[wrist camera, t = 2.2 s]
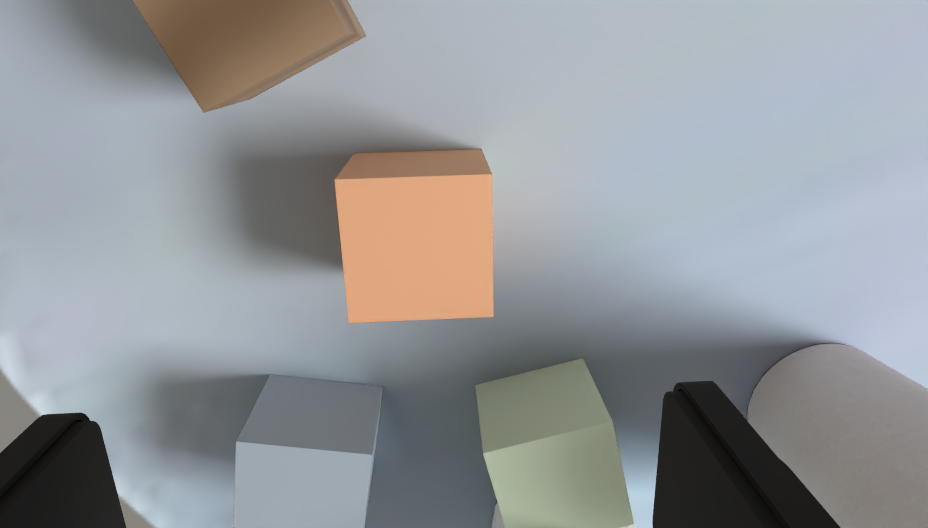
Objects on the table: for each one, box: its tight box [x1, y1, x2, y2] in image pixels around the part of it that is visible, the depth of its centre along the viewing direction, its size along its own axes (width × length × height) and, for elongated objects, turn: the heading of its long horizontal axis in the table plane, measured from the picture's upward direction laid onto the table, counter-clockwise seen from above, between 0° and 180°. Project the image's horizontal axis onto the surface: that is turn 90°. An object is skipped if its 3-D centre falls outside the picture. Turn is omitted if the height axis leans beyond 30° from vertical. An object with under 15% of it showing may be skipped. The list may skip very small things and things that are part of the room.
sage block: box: [475, 358, 634, 528], centre depth 26 cm, size 5×5×5 cm
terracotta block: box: [335, 149, 494, 323], centre depth 23 cm, size 5×5×5 cm
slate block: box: [233, 374, 383, 528], centre depth 26 cm, size 5×5×5 cm
